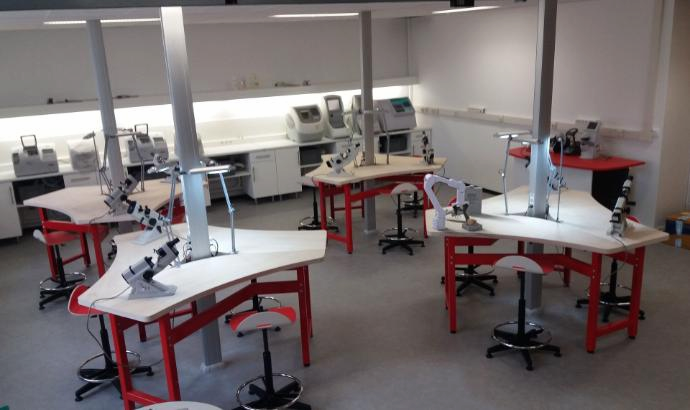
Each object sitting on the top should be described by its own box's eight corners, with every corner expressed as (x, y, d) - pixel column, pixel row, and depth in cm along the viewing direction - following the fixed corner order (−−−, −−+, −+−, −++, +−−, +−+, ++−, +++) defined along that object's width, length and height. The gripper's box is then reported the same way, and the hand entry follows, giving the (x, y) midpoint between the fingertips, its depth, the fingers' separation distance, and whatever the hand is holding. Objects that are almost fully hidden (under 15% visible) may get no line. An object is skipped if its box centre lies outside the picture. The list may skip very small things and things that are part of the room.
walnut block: (470, 228, 440) (471, 221, 438) (467, 226, 444) (467, 219, 443) (476, 227, 441) (476, 220, 440) (472, 226, 446) (472, 218, 445)
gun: (469, 221, 459) (463, 204, 458) (440, 230, 472) (433, 213, 471) (471, 219, 463) (465, 202, 462) (441, 228, 477) (435, 212, 476)
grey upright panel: (461, 214, 482) (462, 185, 476) (460, 213, 487) (461, 184, 481) (482, 214, 482) (483, 185, 476) (480, 212, 487) (481, 184, 481)
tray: (469, 231, 436) (469, 226, 435) (461, 227, 445) (461, 223, 444) (482, 229, 440) (482, 224, 439) (474, 225, 449) (475, 221, 449)
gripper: (455, 199, 436) (454, 216, 439) (471, 197, 441) (470, 214, 444) (450, 197, 442) (450, 214, 445) (466, 195, 447) (465, 212, 451)
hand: (460, 214), depth 445 cm, fingers open, 7 cm apart
